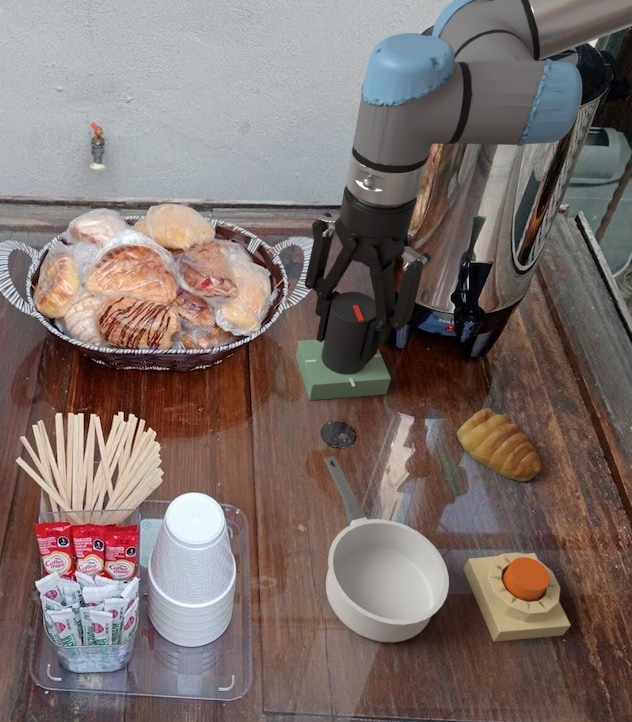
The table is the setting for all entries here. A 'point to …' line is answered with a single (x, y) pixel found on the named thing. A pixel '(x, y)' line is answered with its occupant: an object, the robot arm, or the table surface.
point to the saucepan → (382, 573)
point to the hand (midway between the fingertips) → (346, 346)
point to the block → (514, 601)
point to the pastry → (499, 445)
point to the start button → (526, 578)
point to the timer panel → (339, 375)
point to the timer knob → (347, 332)
